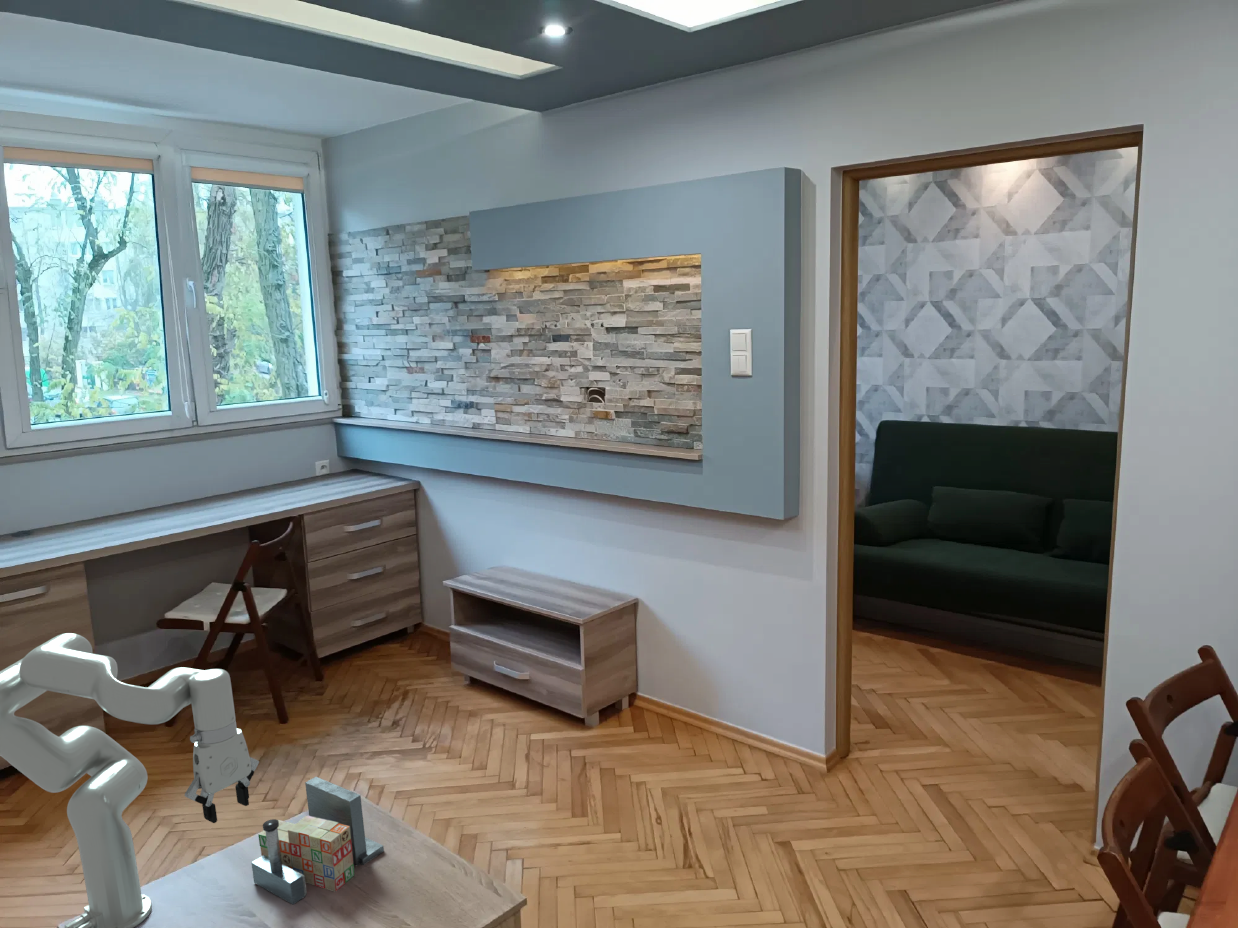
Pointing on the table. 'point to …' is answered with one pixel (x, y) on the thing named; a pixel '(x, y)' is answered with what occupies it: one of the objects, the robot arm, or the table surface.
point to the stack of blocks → (315, 850)
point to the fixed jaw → (342, 815)
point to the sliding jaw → (277, 869)
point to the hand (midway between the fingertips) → (227, 811)
